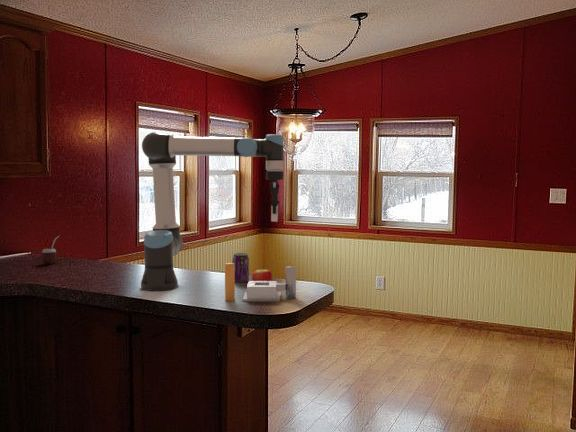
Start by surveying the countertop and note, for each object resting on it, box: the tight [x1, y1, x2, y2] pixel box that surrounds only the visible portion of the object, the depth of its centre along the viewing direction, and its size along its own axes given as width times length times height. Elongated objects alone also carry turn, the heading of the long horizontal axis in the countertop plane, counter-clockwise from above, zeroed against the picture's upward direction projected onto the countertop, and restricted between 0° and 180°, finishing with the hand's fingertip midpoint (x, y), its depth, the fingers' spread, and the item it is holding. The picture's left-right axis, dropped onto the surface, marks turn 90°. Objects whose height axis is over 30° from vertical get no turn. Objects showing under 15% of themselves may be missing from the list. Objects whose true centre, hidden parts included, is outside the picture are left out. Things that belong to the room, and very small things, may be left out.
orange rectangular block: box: [224, 262, 236, 302], centre depth 227 cm, size 4×4×14 cm
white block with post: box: [242, 265, 297, 302], centre depth 231 cm, size 20×12×12 cm, turn 90°
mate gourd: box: [41, 235, 60, 266], centre depth 309 cm, size 8×8×15 cm
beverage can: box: [232, 252, 250, 283], centre depth 264 cm, size 7×7×12 cm
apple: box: [251, 264, 273, 281], centre depth 250 cm, size 8×8×10 cm
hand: (274, 220), depth 260 cm, fingers open, 13 cm apart
